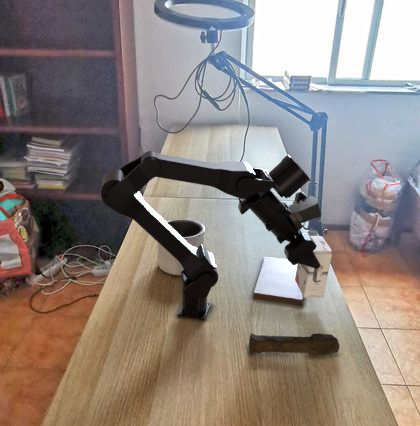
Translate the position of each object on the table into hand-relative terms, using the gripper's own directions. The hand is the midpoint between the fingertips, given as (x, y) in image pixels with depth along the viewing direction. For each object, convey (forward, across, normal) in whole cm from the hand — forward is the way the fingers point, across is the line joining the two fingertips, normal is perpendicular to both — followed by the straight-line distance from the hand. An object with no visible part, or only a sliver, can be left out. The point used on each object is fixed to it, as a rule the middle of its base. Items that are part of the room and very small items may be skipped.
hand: (313, 257), depth 111 cm
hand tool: (+5, -17, +15) cm, 23 cm away
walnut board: (+7, +12, +11) cm, 18 cm away
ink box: (+6, 0, +6) cm, 9 cm away
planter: (-10, +22, +30) cm, 38 cm away
